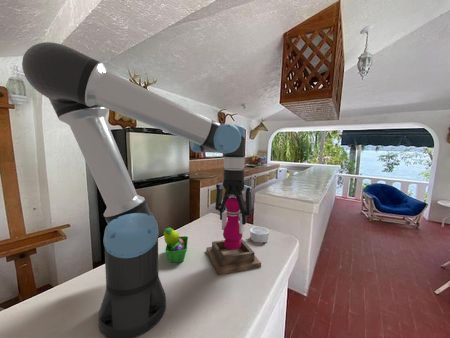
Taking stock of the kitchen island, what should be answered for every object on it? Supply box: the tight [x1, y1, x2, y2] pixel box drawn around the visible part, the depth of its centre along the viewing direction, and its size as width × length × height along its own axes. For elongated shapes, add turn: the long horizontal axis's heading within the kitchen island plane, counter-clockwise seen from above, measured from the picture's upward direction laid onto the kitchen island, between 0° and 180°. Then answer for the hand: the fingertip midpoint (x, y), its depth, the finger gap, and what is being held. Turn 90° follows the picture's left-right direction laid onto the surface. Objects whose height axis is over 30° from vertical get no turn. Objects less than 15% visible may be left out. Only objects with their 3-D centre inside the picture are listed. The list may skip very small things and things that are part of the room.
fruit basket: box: [163, 227, 189, 263], centre depth 75 cm, size 11×9×11 cm
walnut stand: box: [205, 238, 262, 276], centre depth 74 cm, size 16×16×4 cm
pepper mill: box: [222, 194, 243, 250], centre depth 73 cm, size 7×7×20 cm
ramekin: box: [249, 226, 270, 244], centre depth 91 cm, size 9×9×4 cm
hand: (232, 230), depth 74 cm, fingers closed on pepper mill, 6 cm apart
